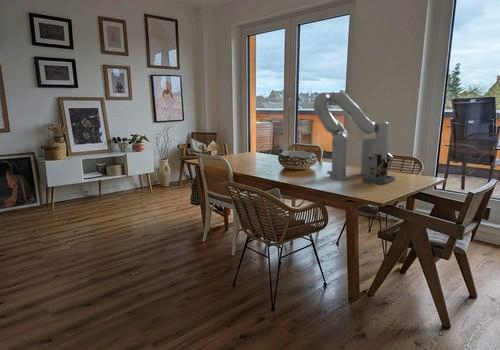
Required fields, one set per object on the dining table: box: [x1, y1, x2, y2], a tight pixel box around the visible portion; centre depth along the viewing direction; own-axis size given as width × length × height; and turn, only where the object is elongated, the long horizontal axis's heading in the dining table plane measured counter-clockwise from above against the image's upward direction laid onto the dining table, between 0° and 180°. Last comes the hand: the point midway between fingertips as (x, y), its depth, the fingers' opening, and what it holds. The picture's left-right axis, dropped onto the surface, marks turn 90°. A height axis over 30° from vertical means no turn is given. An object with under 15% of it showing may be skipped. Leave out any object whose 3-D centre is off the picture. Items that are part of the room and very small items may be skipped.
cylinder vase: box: [360, 138, 375, 177], centre depth 244 cm, size 12×12×25 cm
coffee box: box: [370, 154, 390, 180], centre depth 226 cm, size 9×6×16 cm
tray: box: [362, 175, 396, 186], centre depth 228 cm, size 15×16×2 cm
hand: (379, 167), depth 226 cm, fingers closed on coffee box, 8 cm apart
